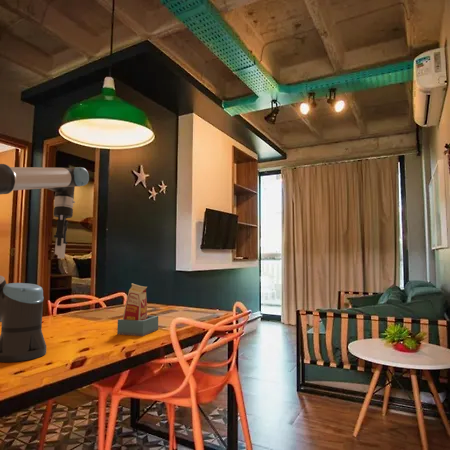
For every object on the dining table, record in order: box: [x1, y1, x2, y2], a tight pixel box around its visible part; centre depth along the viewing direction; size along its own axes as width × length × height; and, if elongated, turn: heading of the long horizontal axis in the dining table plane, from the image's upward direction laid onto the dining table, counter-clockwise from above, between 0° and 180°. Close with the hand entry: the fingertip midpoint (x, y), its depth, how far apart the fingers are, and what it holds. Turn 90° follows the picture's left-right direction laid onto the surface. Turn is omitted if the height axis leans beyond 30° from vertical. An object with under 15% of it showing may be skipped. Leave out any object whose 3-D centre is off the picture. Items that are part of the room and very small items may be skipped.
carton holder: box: [116, 315, 159, 337], centre depth 153 cm, size 12×13×6 cm
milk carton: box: [122, 283, 148, 321], centre depth 154 cm, size 9×9×20 cm
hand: (59, 256), depth 148 cm, fingers open, 13 cm apart
